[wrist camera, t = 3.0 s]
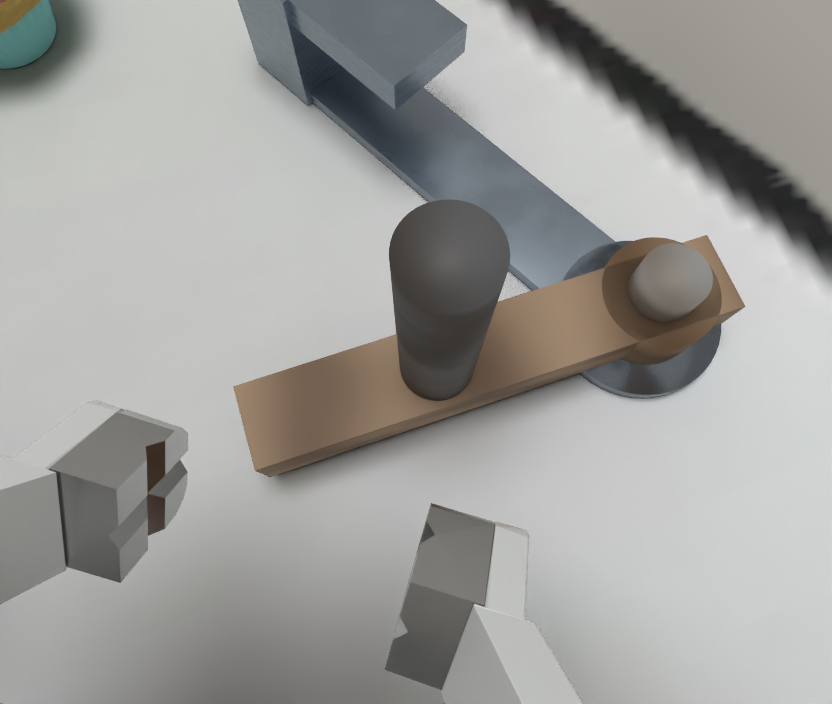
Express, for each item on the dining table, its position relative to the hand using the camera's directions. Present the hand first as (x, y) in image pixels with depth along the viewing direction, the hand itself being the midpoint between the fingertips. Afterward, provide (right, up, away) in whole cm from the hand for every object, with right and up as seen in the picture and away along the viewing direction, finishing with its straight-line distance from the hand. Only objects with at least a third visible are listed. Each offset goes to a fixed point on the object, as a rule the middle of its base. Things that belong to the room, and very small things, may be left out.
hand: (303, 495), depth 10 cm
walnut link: (+5, +2, +18) cm, 18 cm away
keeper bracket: (+5, +11, +21) cm, 24 cm away
